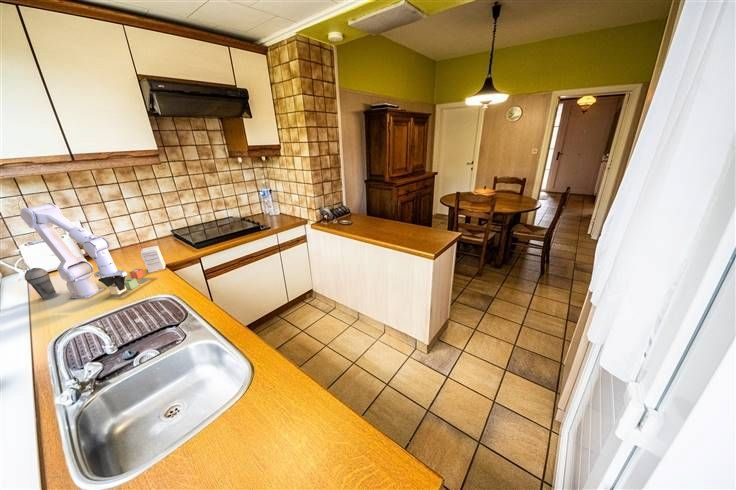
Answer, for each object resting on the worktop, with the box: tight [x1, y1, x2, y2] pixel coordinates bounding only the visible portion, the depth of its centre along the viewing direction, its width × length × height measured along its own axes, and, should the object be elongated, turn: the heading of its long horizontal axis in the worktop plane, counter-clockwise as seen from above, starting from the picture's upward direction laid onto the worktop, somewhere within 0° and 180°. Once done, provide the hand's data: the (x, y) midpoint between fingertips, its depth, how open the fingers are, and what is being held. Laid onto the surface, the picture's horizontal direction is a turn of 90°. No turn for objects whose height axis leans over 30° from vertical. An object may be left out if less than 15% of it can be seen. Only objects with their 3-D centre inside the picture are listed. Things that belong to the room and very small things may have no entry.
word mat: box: [111, 278, 151, 298], centre depth 131 cm, size 9×18×1 cm, turn 175°
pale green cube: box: [124, 277, 140, 291], centre depth 131 cm, size 4×4×4 cm
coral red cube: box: [128, 268, 146, 279], centre depth 142 cm, size 4×4×4 cm
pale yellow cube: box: [107, 284, 128, 295], centre depth 125 cm, size 4×4×4 cm
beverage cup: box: [22, 260, 58, 301], centre depth 124 cm, size 7×7×20 cm
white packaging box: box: [140, 245, 167, 274], centre depth 148 cm, size 7×7×13 cm
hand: (118, 289), depth 125 cm, fingers closed on pale yellow cube, 4 cm apart
